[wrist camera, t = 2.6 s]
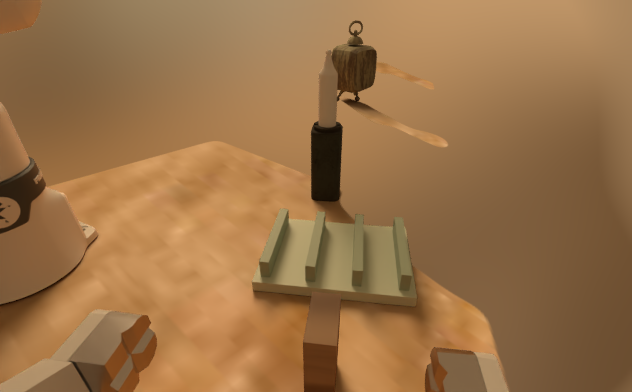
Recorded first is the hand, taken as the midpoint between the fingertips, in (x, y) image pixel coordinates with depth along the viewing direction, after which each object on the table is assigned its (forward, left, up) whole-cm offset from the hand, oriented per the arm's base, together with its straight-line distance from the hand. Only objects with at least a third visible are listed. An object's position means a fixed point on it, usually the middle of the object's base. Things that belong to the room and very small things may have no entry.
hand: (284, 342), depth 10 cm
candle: (-27, +40, -24) cm, 54 cm away
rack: (-15, +26, -23) cm, 38 cm away
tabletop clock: (-58, +99, -24) cm, 117 cm away
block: (-6, +11, -23) cm, 26 cm away
